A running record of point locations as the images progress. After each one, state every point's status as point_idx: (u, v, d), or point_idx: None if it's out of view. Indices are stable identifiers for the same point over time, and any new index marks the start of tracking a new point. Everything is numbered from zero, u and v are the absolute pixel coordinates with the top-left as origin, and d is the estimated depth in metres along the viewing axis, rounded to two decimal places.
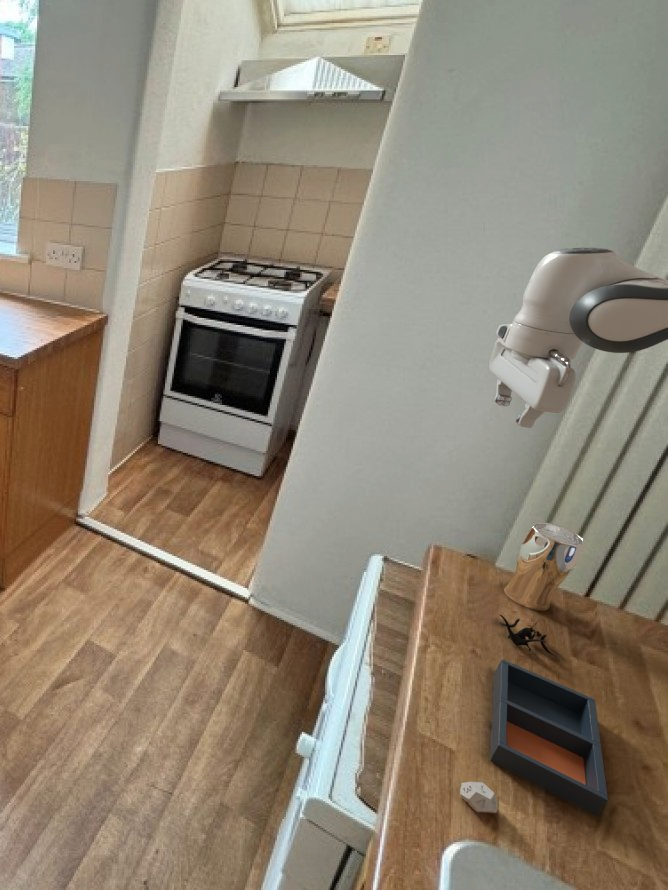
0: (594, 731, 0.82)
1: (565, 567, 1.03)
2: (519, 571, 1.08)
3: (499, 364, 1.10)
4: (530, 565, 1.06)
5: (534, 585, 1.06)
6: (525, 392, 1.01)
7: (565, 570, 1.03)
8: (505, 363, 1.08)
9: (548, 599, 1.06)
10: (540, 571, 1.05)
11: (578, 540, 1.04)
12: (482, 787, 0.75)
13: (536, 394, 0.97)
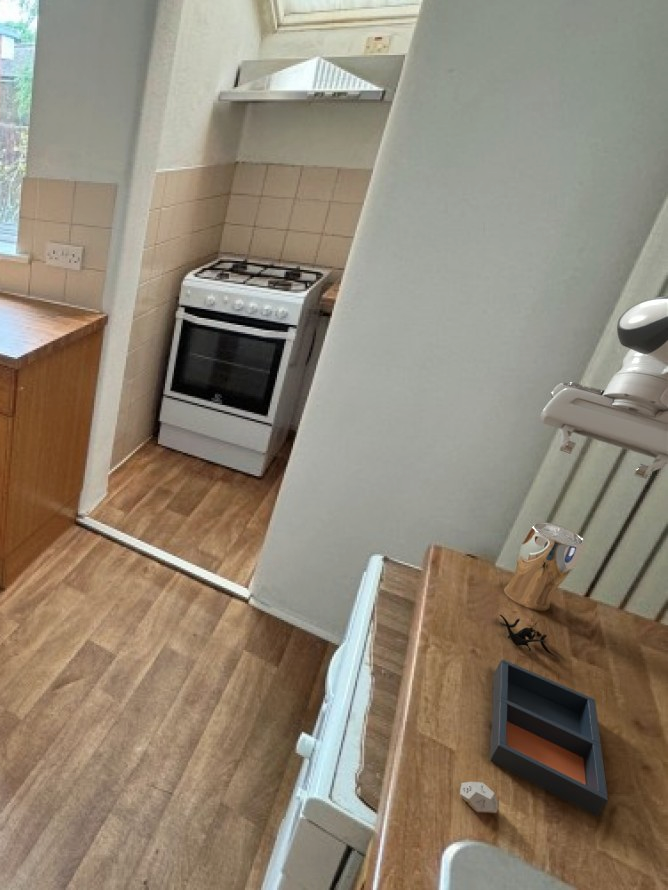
0: (594, 731, 0.82)
1: (565, 567, 1.03)
2: (519, 571, 1.08)
3: None
4: (530, 565, 1.06)
5: (534, 585, 1.06)
6: None
7: (565, 570, 1.03)
8: None
9: (548, 599, 1.06)
10: (540, 571, 1.05)
11: (578, 540, 1.04)
12: (482, 787, 0.75)
13: None
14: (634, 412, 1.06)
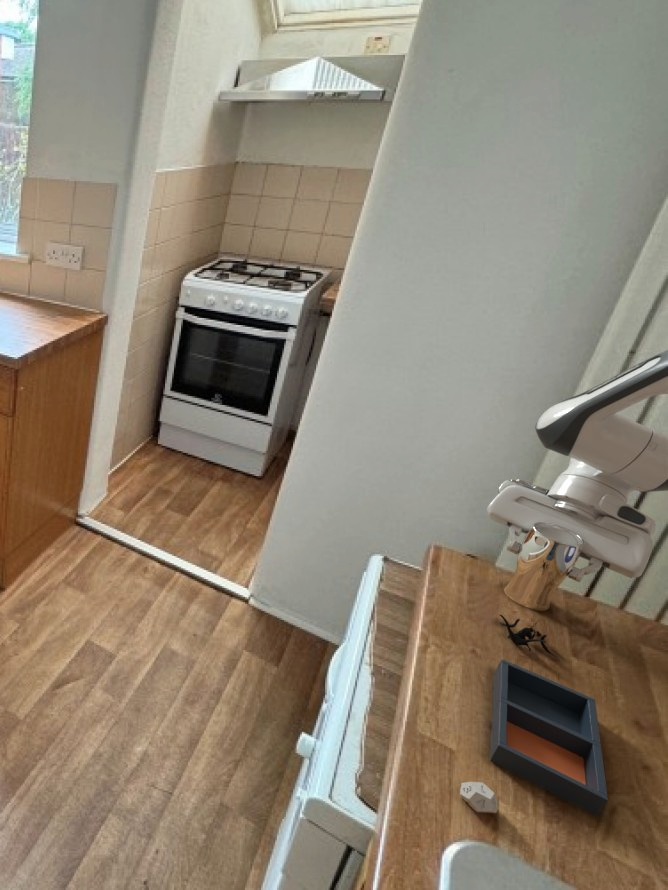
0: (594, 731, 0.82)
1: (565, 567, 1.03)
2: (519, 571, 1.08)
3: None
4: (529, 565, 1.06)
5: (534, 585, 1.06)
6: None
7: (565, 570, 1.03)
8: None
9: (548, 599, 1.06)
10: (540, 571, 1.05)
11: (577, 540, 1.04)
12: (482, 787, 0.75)
13: None
14: (575, 515, 1.06)
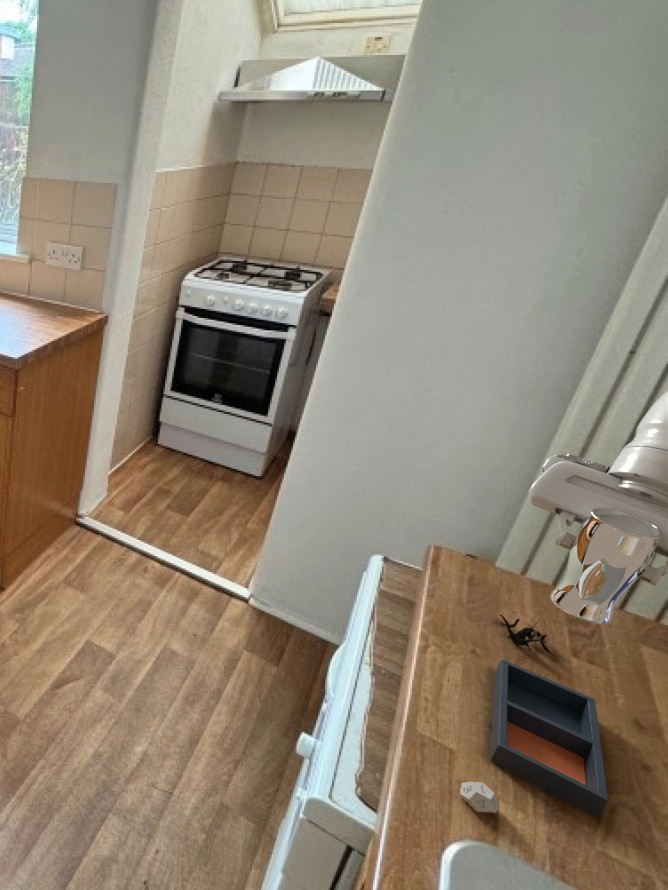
0: (594, 731, 0.82)
1: (636, 566, 0.78)
2: (573, 571, 0.83)
3: None
4: (587, 563, 0.82)
5: (593, 589, 0.82)
6: None
7: (636, 570, 0.78)
8: None
9: (611, 607, 0.82)
10: (602, 571, 0.80)
11: (652, 531, 0.79)
12: (482, 787, 0.75)
13: None
14: (647, 498, 0.81)
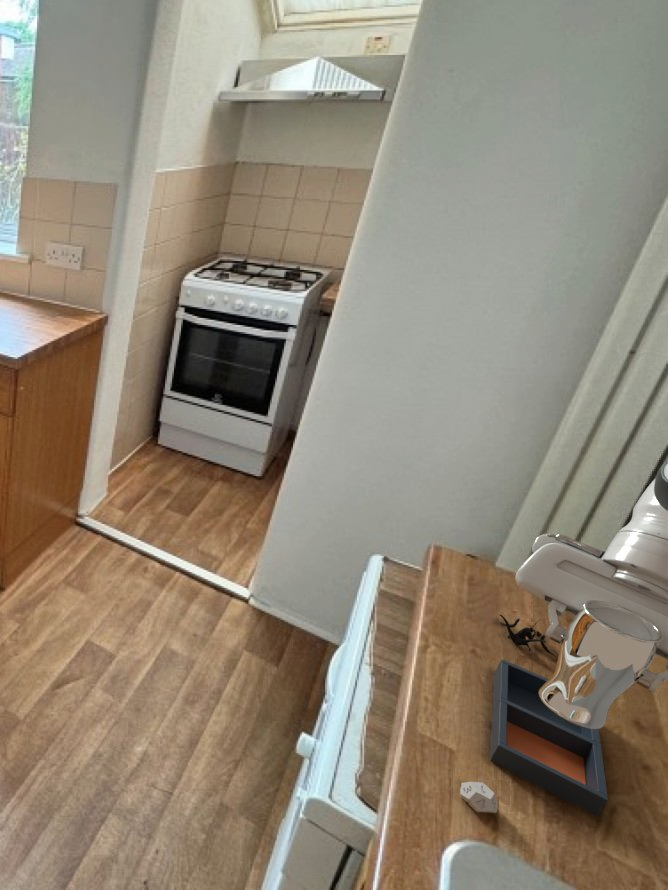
0: (594, 731, 0.82)
1: (633, 671, 0.71)
2: (564, 669, 0.76)
3: None
4: (580, 663, 0.74)
5: (585, 692, 0.74)
6: None
7: (633, 675, 0.71)
8: None
9: (605, 711, 0.74)
10: (595, 674, 0.73)
11: (651, 631, 0.72)
12: (482, 787, 0.75)
13: None
14: (646, 592, 0.74)
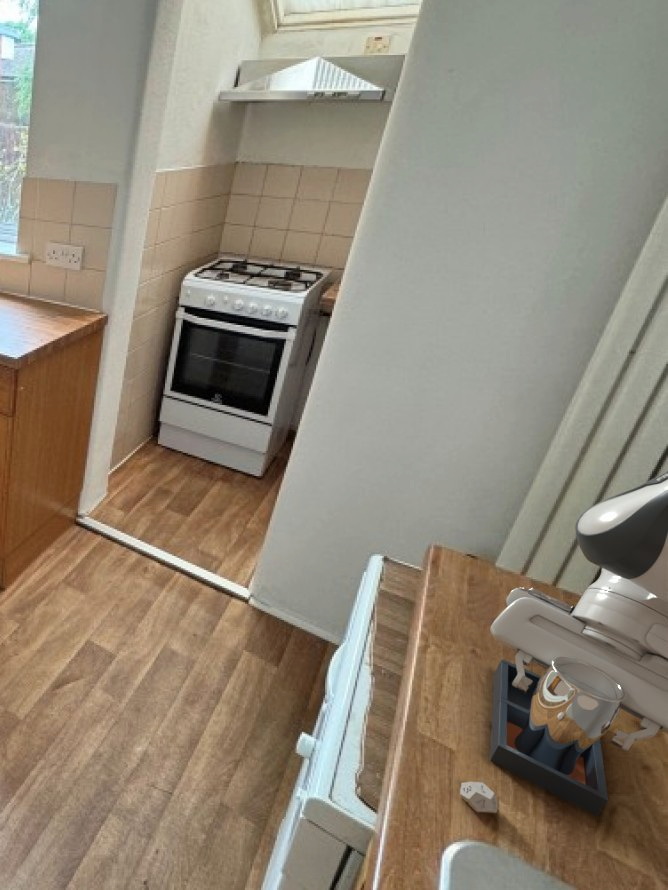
0: None
1: (598, 728, 0.74)
2: (534, 723, 0.79)
3: None
4: (548, 718, 0.77)
5: (554, 745, 0.78)
6: None
7: (598, 731, 0.74)
8: None
9: (573, 764, 0.78)
10: (563, 729, 0.76)
11: (615, 689, 0.75)
12: (482, 787, 0.75)
13: None
14: (612, 649, 0.77)
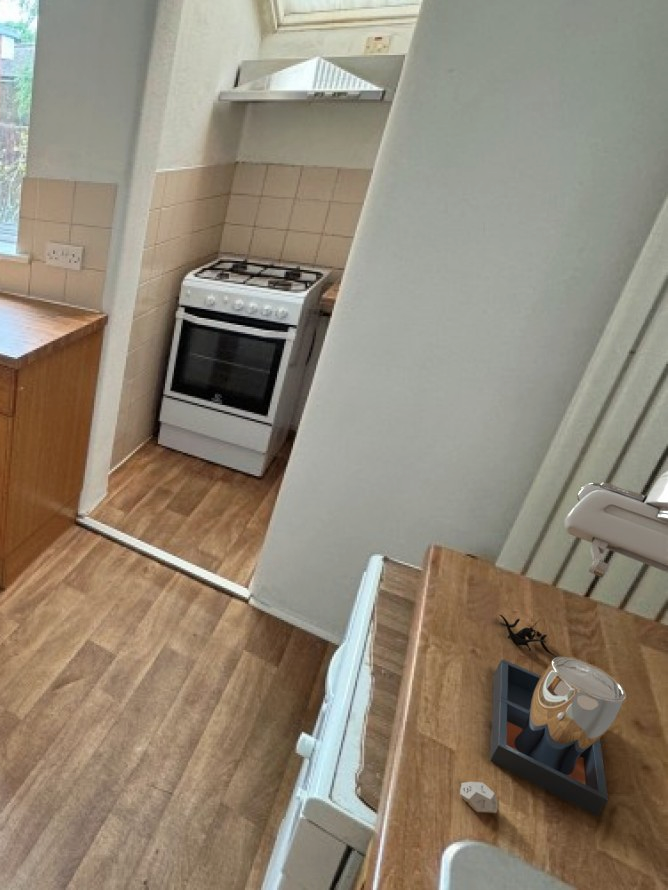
0: None
1: (598, 728, 0.74)
2: (534, 723, 0.79)
3: None
4: (548, 718, 0.77)
5: (554, 745, 0.78)
6: None
7: (598, 731, 0.74)
8: None
9: (573, 764, 0.78)
10: (563, 729, 0.76)
11: (615, 689, 0.75)
12: (482, 787, 0.75)
13: None
14: None
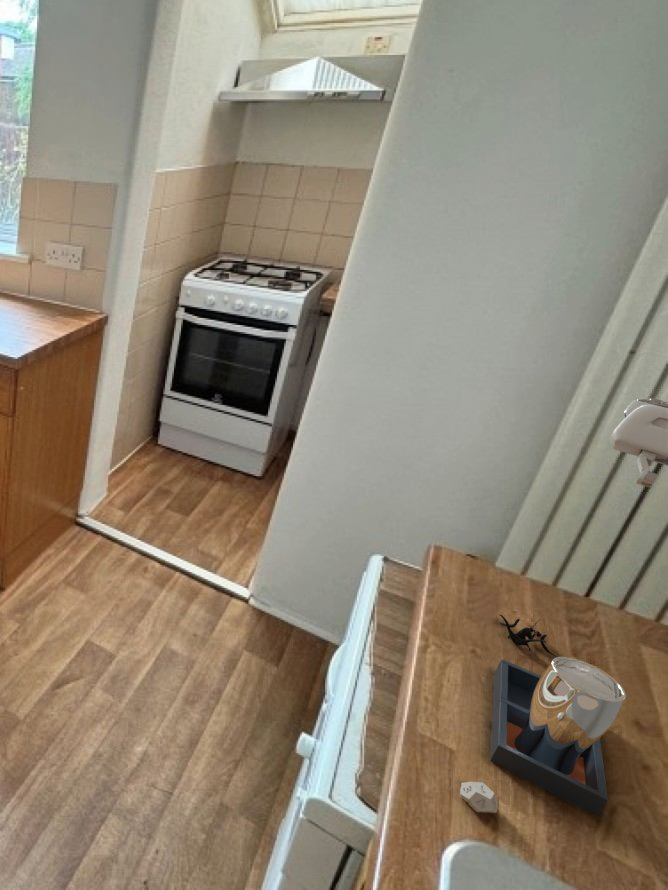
0: None
1: (598, 728, 0.74)
2: (534, 723, 0.79)
3: None
4: (548, 718, 0.77)
5: (554, 745, 0.78)
6: None
7: (598, 731, 0.74)
8: None
9: (573, 764, 0.78)
10: (563, 729, 0.76)
11: (615, 689, 0.75)
12: (482, 787, 0.75)
13: None
14: None
